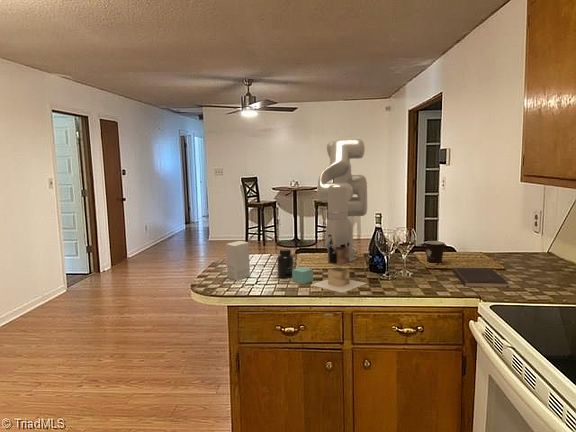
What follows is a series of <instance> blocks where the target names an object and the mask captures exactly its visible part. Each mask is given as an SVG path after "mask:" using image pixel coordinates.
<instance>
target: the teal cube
mask: <svg viewBox="0 0 576 432" xmlns="http://www.w3.org/2000/svg"><path fill="white" fill-rule="evenodd" d="M291 281H292V282H293V283H298V284H300V285H305V284H308V283H311V282H313V281H314V269H312V268H309V267H303V266H302V267H298V268H293V270H292V279H291Z"/></svg>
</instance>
